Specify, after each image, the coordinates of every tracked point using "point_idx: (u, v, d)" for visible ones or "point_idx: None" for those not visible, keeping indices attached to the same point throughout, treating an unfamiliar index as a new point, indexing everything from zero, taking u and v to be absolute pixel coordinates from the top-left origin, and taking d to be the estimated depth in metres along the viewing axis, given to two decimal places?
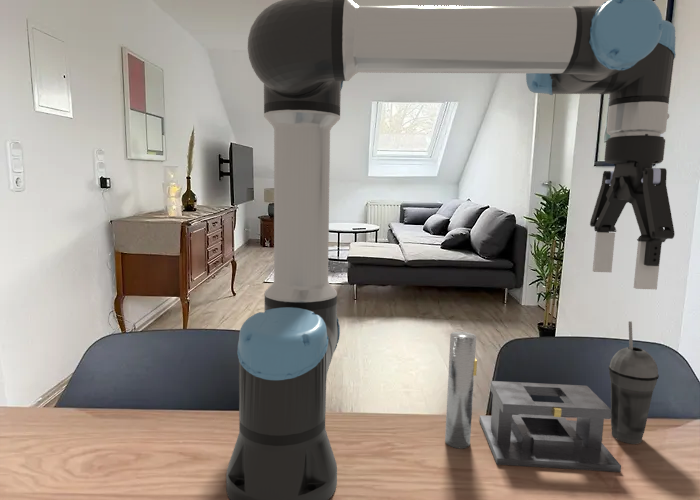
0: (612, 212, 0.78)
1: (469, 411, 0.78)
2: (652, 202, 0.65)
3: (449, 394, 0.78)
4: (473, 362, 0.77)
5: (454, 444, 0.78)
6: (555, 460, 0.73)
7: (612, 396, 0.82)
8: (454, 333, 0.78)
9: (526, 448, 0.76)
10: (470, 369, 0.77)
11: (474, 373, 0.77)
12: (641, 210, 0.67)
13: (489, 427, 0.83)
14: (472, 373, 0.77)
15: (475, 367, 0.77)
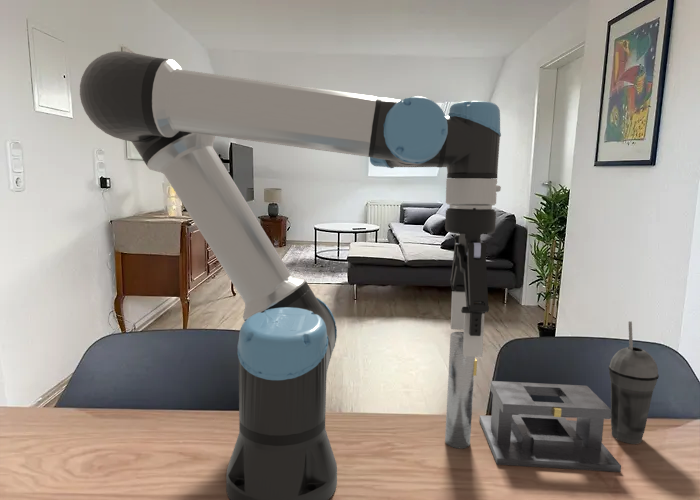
0: (462, 274, 0.81)
1: (469, 411, 0.78)
2: (471, 276, 0.68)
3: (449, 394, 0.78)
4: (473, 362, 0.77)
5: (454, 444, 0.78)
6: (555, 460, 0.73)
7: (612, 396, 0.82)
8: (454, 333, 0.78)
9: (526, 448, 0.76)
10: (470, 369, 0.77)
11: (474, 373, 0.77)
12: (468, 281, 0.71)
13: (489, 427, 0.83)
14: (472, 373, 0.77)
15: (475, 367, 0.77)
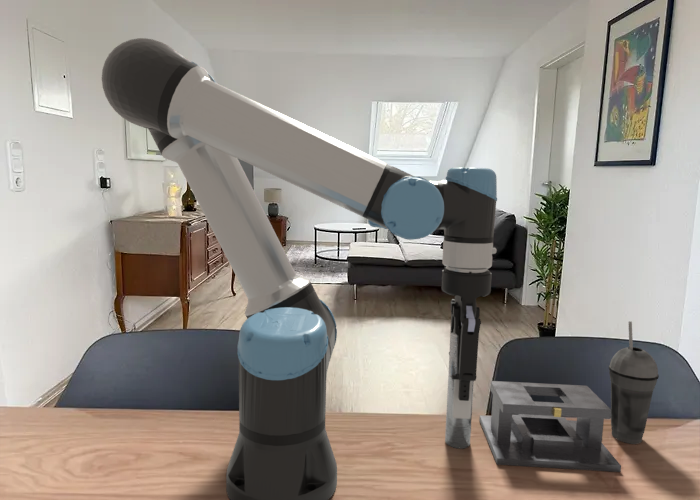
0: None
1: None
2: (462, 351, 0.72)
3: (449, 394, 0.78)
4: None
5: (454, 444, 0.78)
6: (555, 460, 0.73)
7: (612, 396, 0.82)
8: (454, 333, 0.78)
9: (526, 448, 0.76)
10: None
11: None
12: (460, 349, 0.75)
13: (489, 427, 0.83)
14: None
15: None
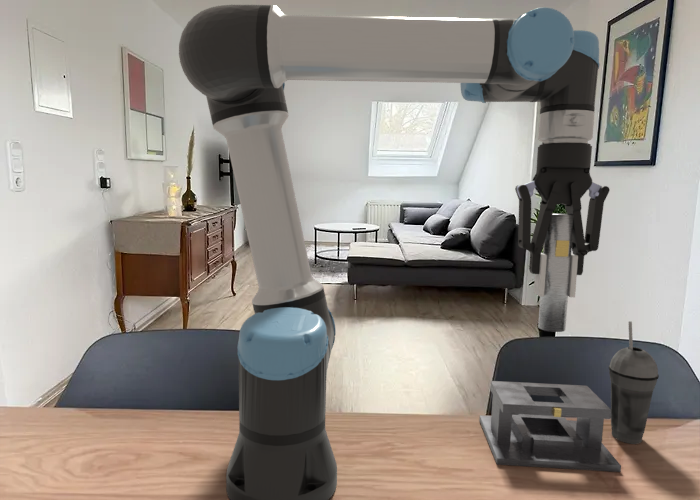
0: None
1: (547, 292, 0.75)
2: (519, 217, 0.77)
3: None
4: (553, 240, 0.74)
5: (538, 323, 0.78)
6: (555, 460, 0.73)
7: (612, 396, 0.82)
8: None
9: (526, 448, 0.76)
10: (548, 247, 0.75)
11: (555, 253, 0.74)
12: (537, 222, 0.76)
13: (489, 427, 0.83)
14: (552, 252, 0.75)
15: (555, 247, 0.74)
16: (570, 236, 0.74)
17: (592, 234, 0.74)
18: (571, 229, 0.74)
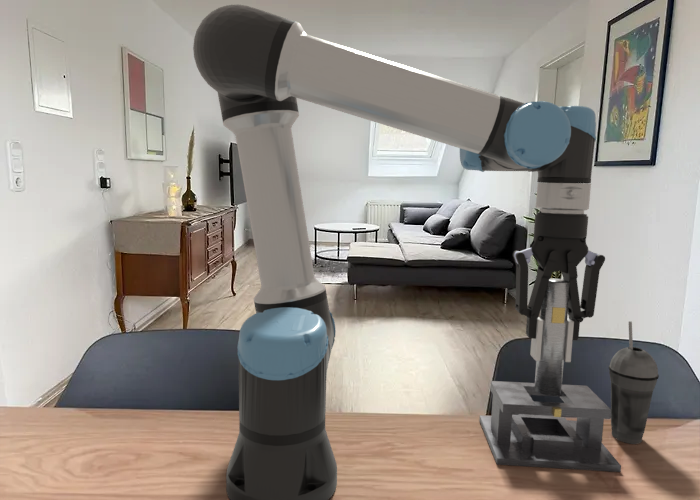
0: None
1: (543, 357, 0.77)
2: (516, 282, 0.78)
3: None
4: (549, 307, 0.76)
5: None
6: (555, 460, 0.73)
7: (612, 396, 0.82)
8: (557, 279, 0.78)
9: (526, 448, 0.76)
10: (544, 313, 0.76)
11: (551, 320, 0.75)
12: (533, 287, 0.78)
13: (489, 427, 0.83)
14: (548, 318, 0.76)
15: (552, 314, 0.75)
16: (566, 303, 0.75)
17: (588, 301, 0.75)
18: (567, 296, 0.75)
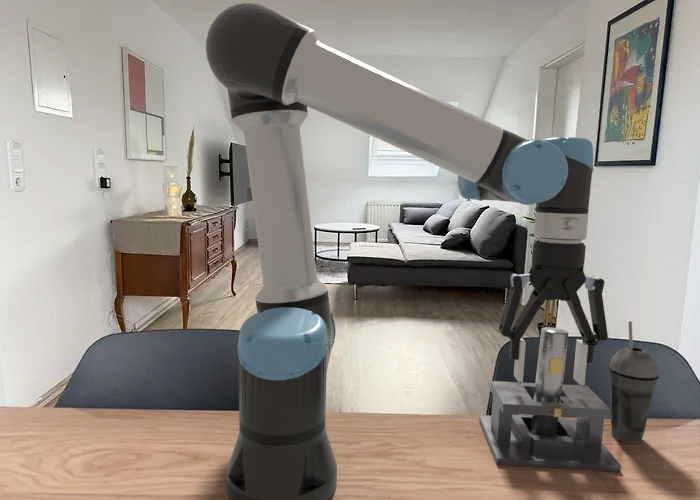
0: (574, 316, 0.77)
1: None
2: (506, 303, 0.79)
3: None
4: (547, 357, 0.77)
5: (530, 431, 0.81)
6: (555, 460, 0.73)
7: (612, 396, 0.82)
8: (556, 329, 0.79)
9: (526, 448, 0.76)
10: (542, 362, 0.77)
11: (548, 370, 0.77)
12: (523, 310, 0.78)
13: (489, 427, 0.83)
14: (545, 368, 0.77)
15: (549, 364, 0.76)
16: (564, 354, 0.76)
17: (599, 325, 0.76)
18: (565, 347, 0.76)
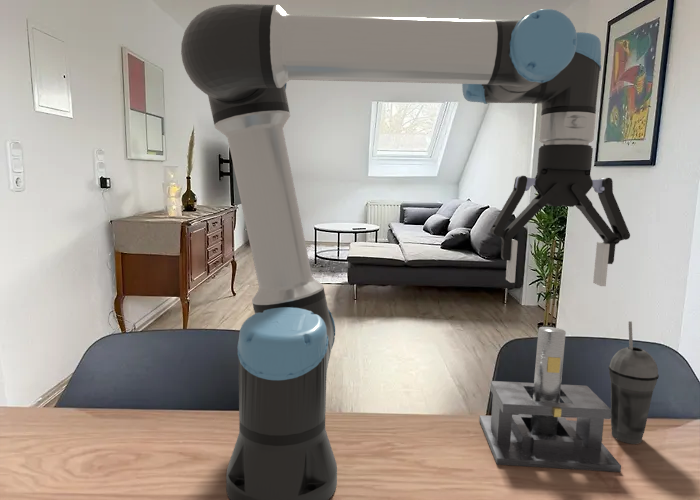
0: (590, 220, 0.75)
1: None
2: (504, 205, 0.77)
3: None
4: (545, 357, 0.77)
5: None
6: (555, 460, 0.73)
7: (612, 396, 0.82)
8: (553, 328, 0.79)
9: (526, 448, 0.76)
10: (540, 361, 0.78)
11: (546, 369, 0.77)
12: (521, 213, 0.77)
13: (489, 427, 0.83)
14: (543, 367, 0.77)
15: (547, 363, 0.77)
16: (561, 353, 0.77)
17: (618, 225, 0.74)
18: (563, 346, 0.77)
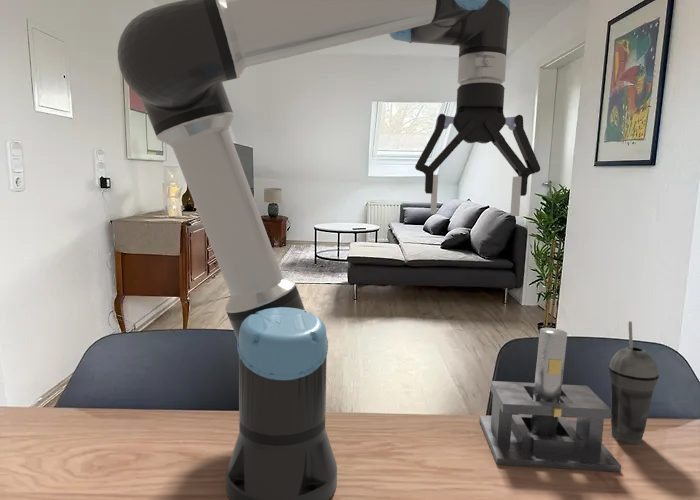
0: (505, 155, 0.82)
1: None
2: (427, 143, 0.83)
3: None
4: (546, 358, 0.76)
5: None
6: (555, 460, 0.73)
7: (612, 396, 0.82)
8: (555, 329, 0.78)
9: (526, 448, 0.76)
10: (541, 363, 0.77)
11: (547, 371, 0.76)
12: None
13: (489, 427, 0.83)
14: (544, 369, 0.77)
15: (548, 365, 0.76)
16: (563, 355, 0.76)
17: (529, 159, 0.80)
18: (564, 348, 0.76)
